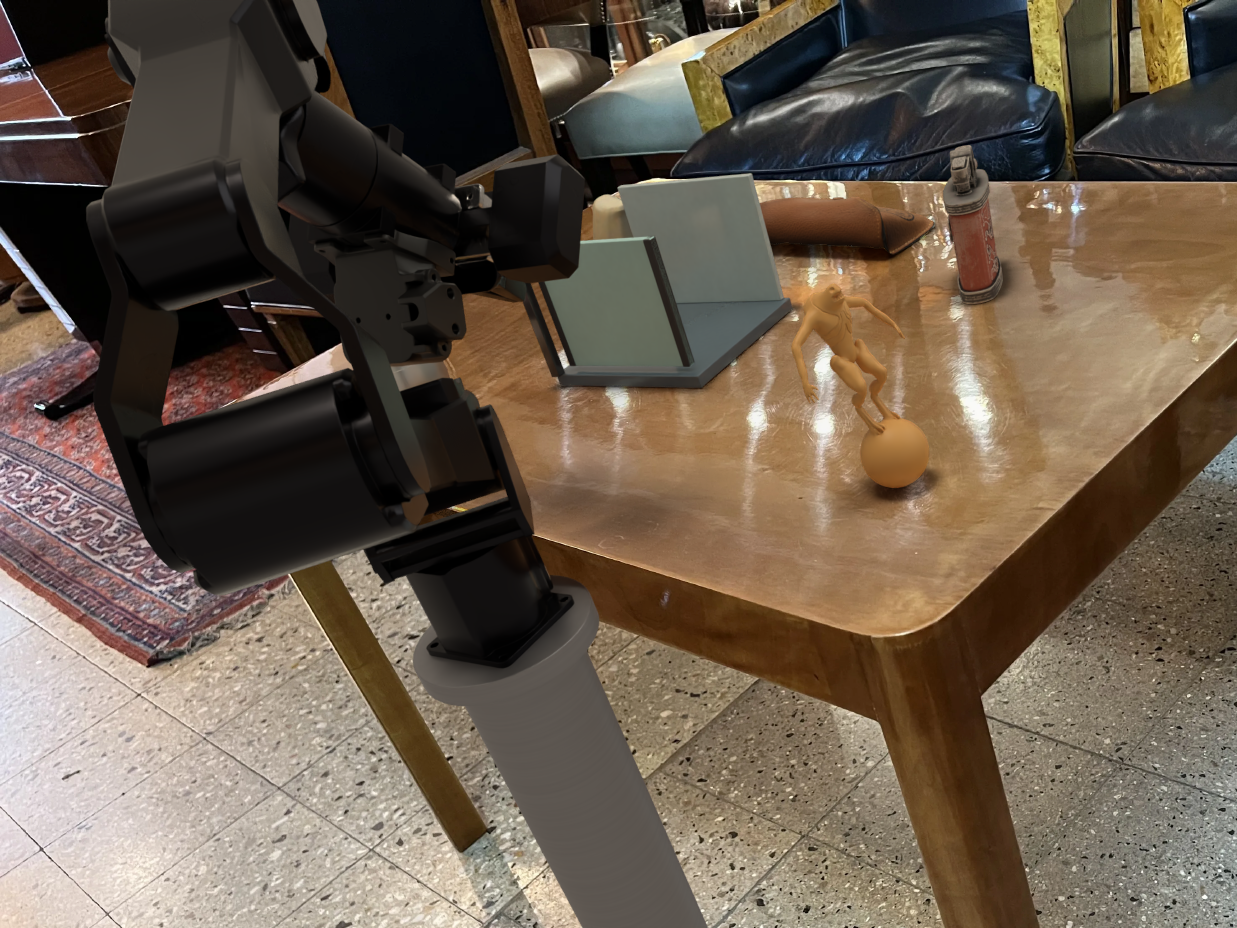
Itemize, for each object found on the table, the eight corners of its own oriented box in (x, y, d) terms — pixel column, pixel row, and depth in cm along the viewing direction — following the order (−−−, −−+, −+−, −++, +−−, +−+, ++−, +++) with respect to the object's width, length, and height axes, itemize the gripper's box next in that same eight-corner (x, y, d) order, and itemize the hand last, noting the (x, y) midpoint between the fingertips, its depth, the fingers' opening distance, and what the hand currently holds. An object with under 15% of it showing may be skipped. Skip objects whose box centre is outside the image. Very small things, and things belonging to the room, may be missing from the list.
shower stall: (697, 391, 87) (651, 245, 81) (556, 388, 94) (503, 253, 88) (793, 308, 97) (758, 171, 90) (658, 311, 104) (617, 184, 97)
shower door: (689, 367, 88) (648, 239, 82) (569, 366, 93) (524, 247, 88) (695, 362, 88) (655, 235, 83) (576, 361, 94) (531, 243, 88)
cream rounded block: (674, 272, 112) (647, 187, 107) (647, 295, 108) (618, 207, 103) (624, 277, 114) (596, 193, 109) (596, 299, 110) (566, 213, 106)
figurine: (883, 525, 66) (835, 321, 59) (805, 506, 69) (751, 313, 63) (969, 453, 70) (933, 256, 63) (891, 439, 74) (849, 252, 67)
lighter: (962, 268, 95) (940, 140, 90) (1004, 260, 95) (985, 131, 89) (956, 306, 89) (932, 172, 83) (1001, 299, 88) (980, 162, 83)
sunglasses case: (941, 217, 105) (907, 164, 100) (911, 283, 104) (874, 234, 99) (790, 216, 116) (752, 169, 111) (761, 276, 115) (721, 231, 109)
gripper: (180, 342, 62) (391, 428, 77) (470, 306, 56) (641, 408, 70) (204, 143, 64) (406, 265, 78) (490, 85, 57) (654, 229, 72)
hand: (520, 294), depth 75 cm, fingers closed
